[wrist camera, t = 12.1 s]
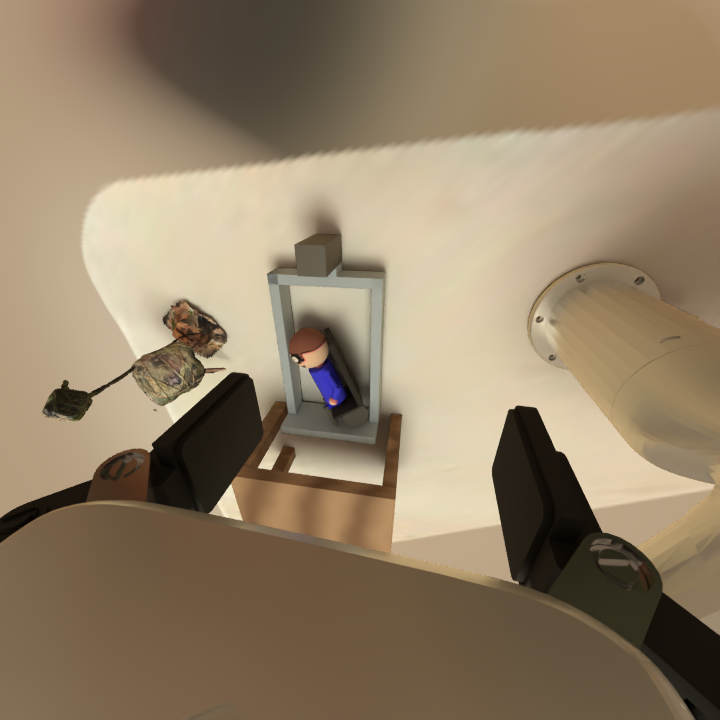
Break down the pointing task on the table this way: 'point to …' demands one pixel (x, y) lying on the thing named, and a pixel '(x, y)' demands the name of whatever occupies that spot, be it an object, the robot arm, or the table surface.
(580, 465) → the table surface
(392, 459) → the small wooden table
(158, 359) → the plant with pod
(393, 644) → the robot arm
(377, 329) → the sled
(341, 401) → the character figurine
